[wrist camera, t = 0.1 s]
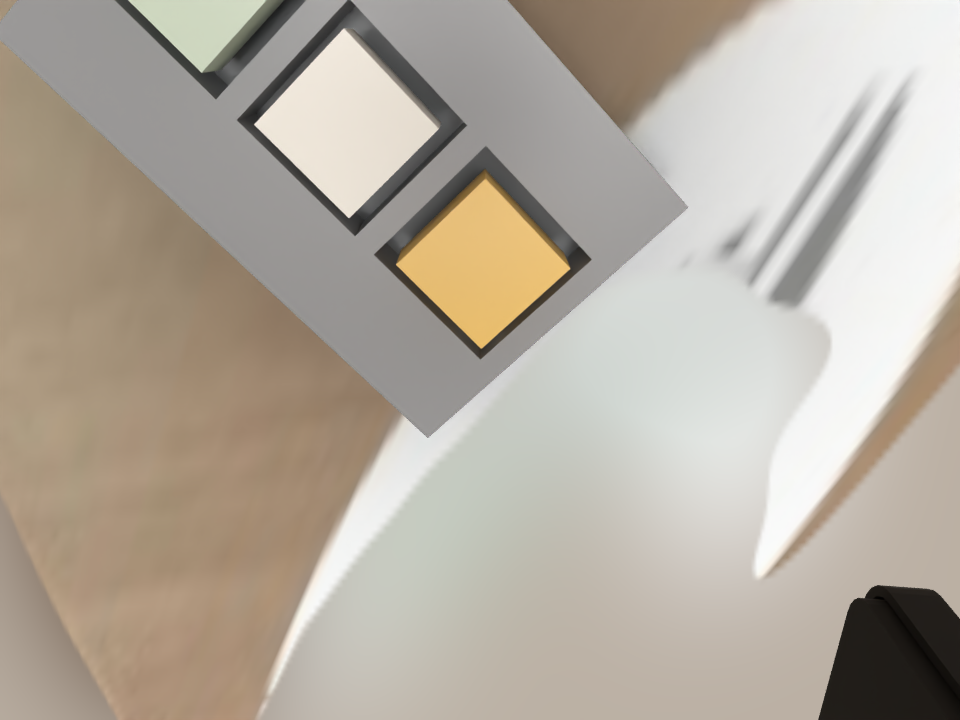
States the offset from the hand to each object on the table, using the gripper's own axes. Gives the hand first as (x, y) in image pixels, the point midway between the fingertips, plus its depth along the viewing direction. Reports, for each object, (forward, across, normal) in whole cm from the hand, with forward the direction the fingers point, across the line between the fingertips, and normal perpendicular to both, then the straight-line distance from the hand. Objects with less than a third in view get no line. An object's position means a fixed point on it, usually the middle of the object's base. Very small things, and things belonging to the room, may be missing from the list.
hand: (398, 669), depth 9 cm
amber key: (+27, -1, +2) cm, 27 cm away
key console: (+31, +4, -3) cm, 31 cm away
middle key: (+27, +4, -3) cm, 28 cm away
